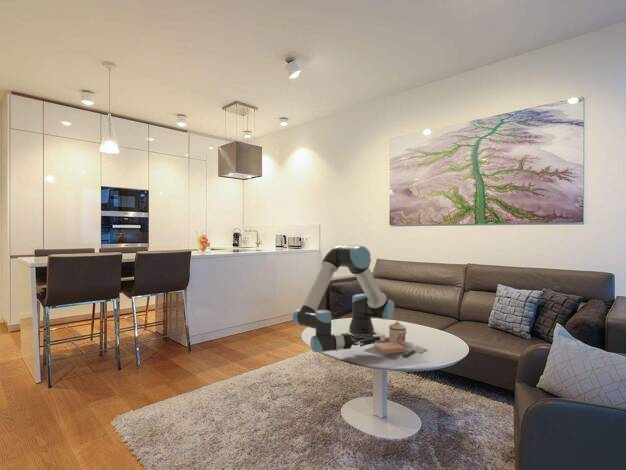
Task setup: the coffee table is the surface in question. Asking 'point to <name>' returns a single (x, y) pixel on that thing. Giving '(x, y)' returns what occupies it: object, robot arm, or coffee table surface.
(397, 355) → the mat
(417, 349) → the turner
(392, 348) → the tile
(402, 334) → the teacup with lid
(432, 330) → the coffee table surface
